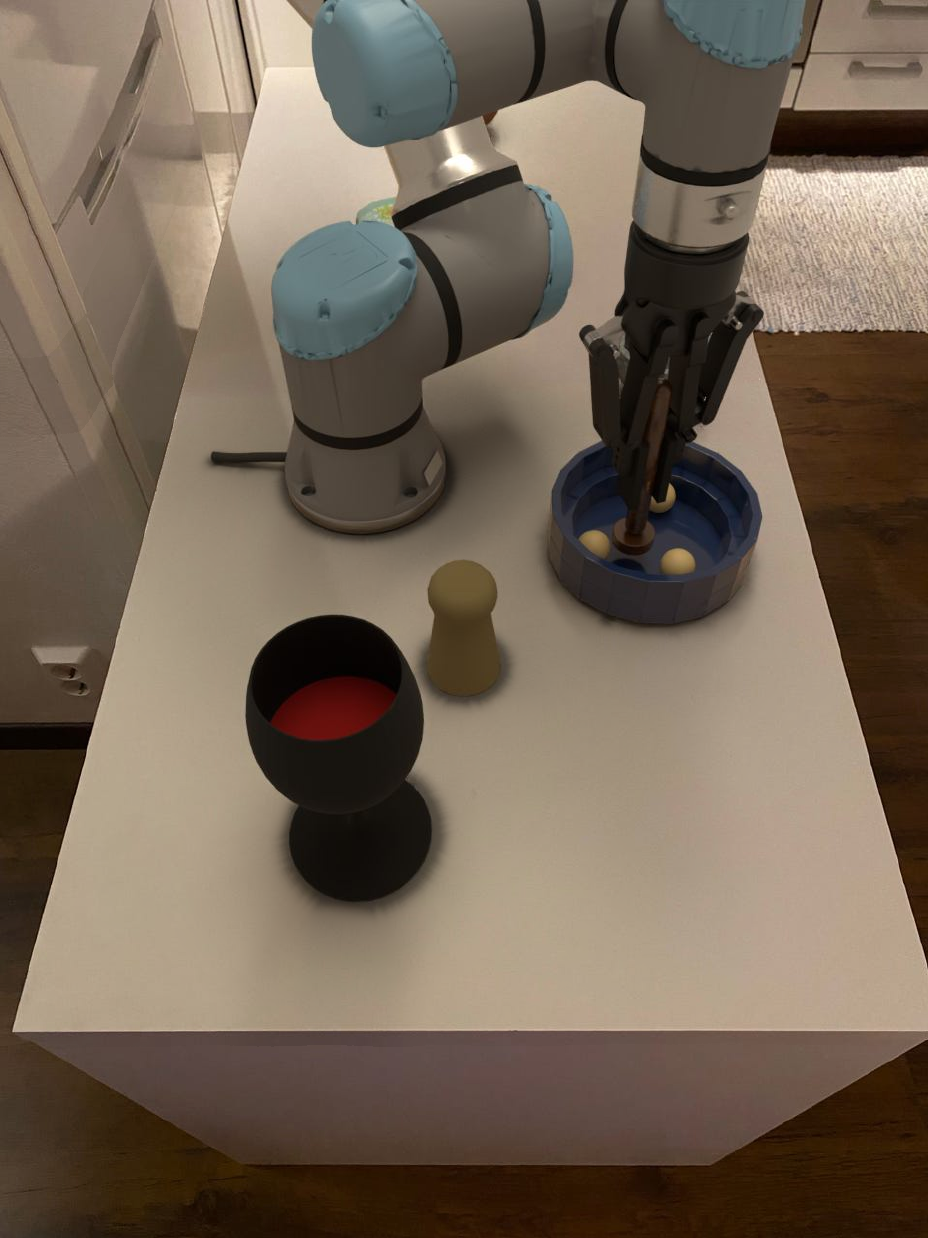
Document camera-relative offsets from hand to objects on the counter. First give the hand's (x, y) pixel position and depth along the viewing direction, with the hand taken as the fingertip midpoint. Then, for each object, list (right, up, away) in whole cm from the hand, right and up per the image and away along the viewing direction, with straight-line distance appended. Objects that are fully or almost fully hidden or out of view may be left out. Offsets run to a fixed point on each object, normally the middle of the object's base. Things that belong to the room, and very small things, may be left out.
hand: (640, 494), depth 78 cm
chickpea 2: (+3, +1, +8) cm, 9 cm away
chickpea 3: (+4, -6, +3) cm, 8 cm away
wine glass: (-22, -26, -9) cm, 35 cm away
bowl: (+2, -4, +7) cm, 8 cm away
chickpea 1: (-3, -4, +5) cm, 7 cm away
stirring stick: (0, -3, +4) cm, 5 cm away
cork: (-15, -14, 0) cm, 20 cm away
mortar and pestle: (+5, +13, +21) cm, 25 cm away
